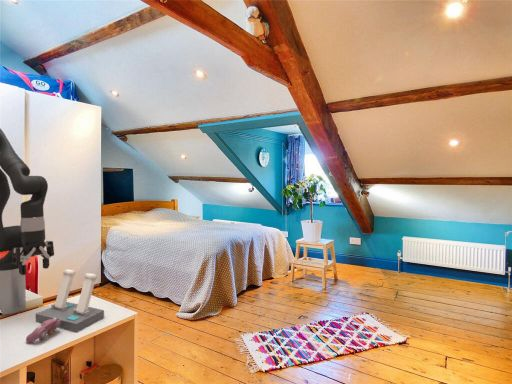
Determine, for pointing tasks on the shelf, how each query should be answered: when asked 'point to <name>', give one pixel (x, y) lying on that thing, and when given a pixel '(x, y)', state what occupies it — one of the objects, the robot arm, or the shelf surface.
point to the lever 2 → (86, 293)
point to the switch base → (71, 316)
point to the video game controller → (44, 330)
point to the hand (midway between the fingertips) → (34, 271)
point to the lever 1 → (64, 288)
